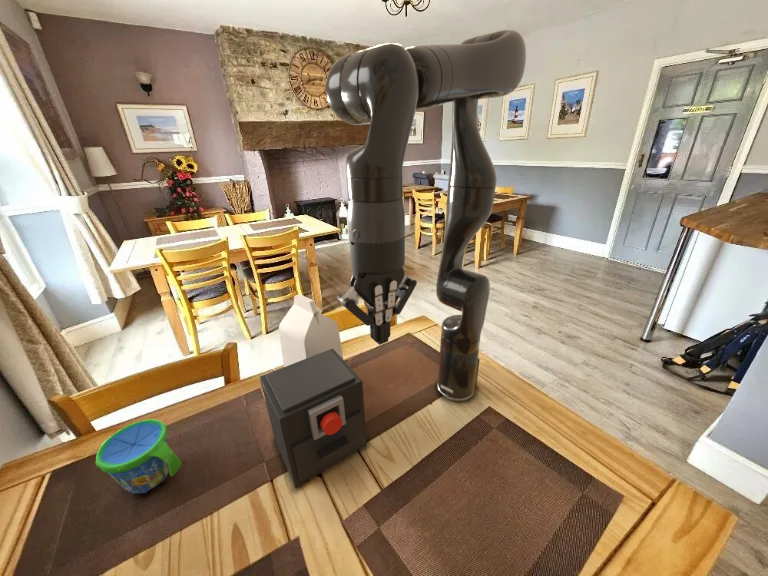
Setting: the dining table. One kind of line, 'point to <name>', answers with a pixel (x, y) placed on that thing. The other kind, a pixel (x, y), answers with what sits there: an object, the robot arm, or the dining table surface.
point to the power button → (331, 423)
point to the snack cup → (138, 456)
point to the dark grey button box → (314, 413)
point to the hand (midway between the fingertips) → (380, 340)
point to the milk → (307, 332)
